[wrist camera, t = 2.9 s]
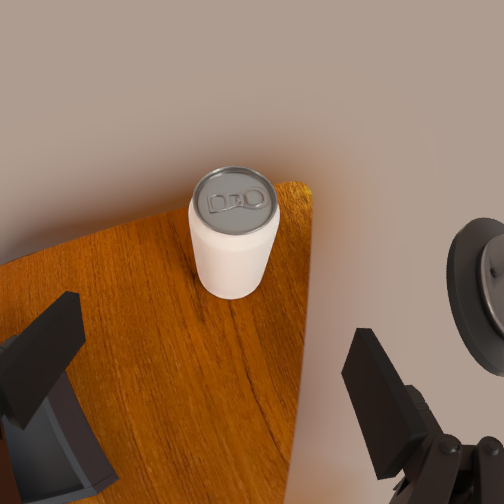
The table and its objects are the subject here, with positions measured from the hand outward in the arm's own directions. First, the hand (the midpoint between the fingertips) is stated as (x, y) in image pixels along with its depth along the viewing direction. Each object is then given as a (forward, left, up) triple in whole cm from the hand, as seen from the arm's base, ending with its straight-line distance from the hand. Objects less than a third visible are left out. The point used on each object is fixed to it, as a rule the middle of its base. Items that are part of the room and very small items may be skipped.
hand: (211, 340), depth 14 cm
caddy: (+2, +21, -15) cm, 26 cm away
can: (+8, -6, -15) cm, 18 cm away
